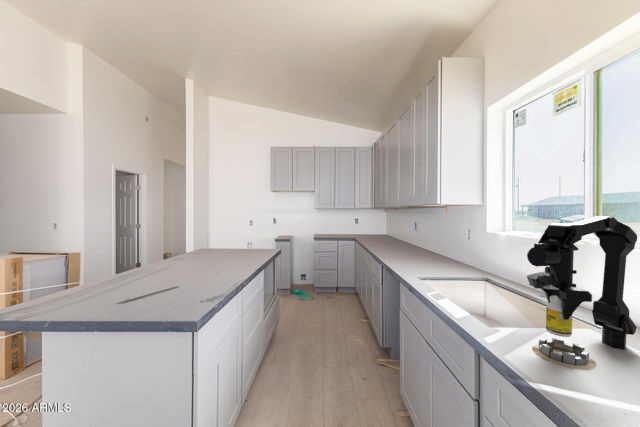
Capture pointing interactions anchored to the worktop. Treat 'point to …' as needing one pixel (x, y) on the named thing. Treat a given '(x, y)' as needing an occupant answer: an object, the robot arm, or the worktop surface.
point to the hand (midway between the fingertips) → (559, 315)
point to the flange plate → (588, 366)
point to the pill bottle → (557, 319)
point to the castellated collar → (566, 357)
